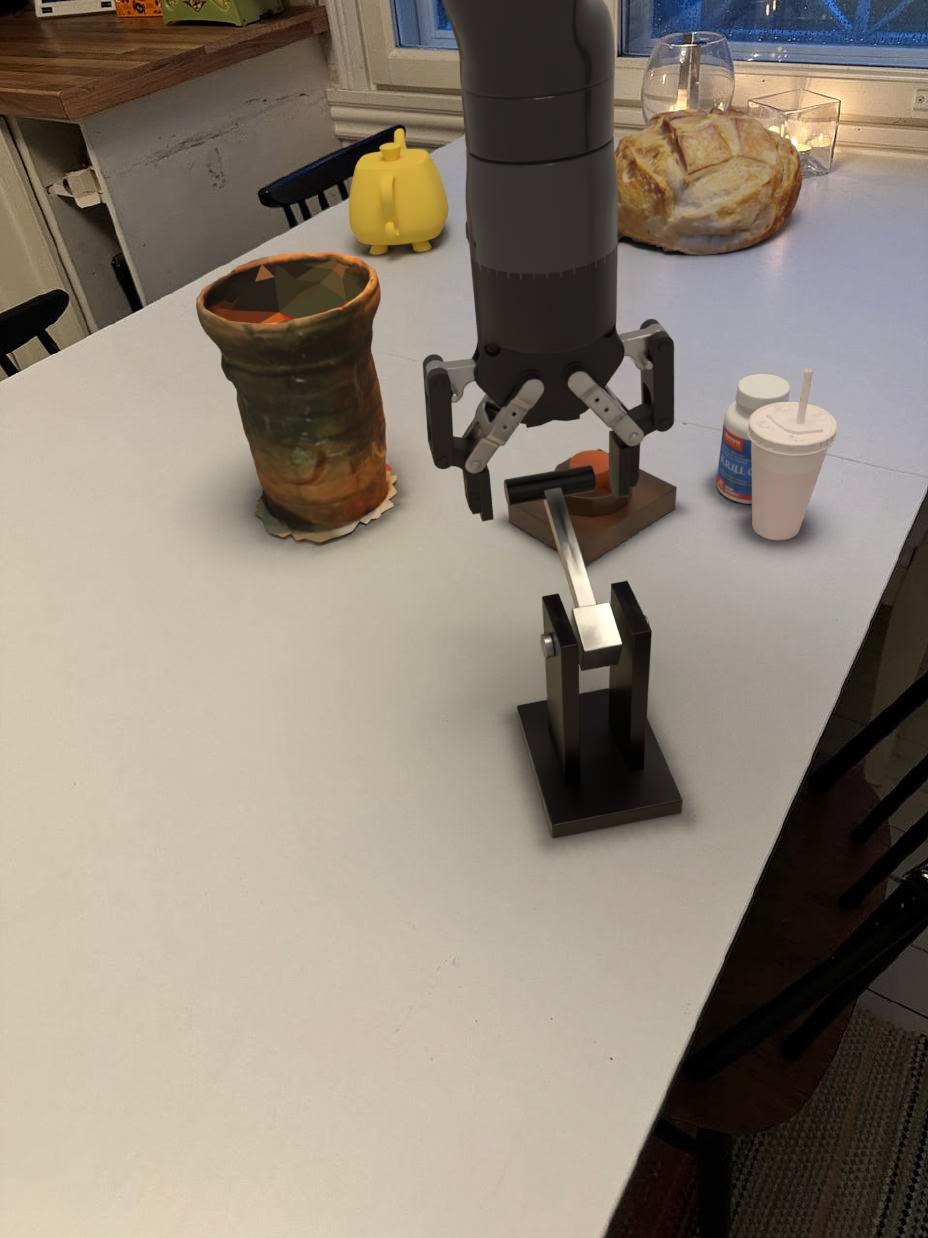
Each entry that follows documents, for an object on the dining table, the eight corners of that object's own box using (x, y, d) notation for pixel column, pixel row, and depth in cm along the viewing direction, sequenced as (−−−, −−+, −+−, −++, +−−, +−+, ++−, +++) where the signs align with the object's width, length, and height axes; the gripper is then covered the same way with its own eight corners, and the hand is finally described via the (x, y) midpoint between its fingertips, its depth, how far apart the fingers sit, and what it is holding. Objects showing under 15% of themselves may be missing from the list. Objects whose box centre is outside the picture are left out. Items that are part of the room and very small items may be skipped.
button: (591, 462, 78) (591, 444, 77) (622, 478, 76) (623, 460, 75) (560, 480, 77) (560, 462, 76) (592, 497, 75) (591, 478, 74)
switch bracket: (517, 716, 63) (505, 570, 54) (632, 695, 63) (638, 546, 55) (552, 838, 55) (545, 690, 47) (682, 812, 56) (698, 661, 47)
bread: (615, 199, 141) (608, 90, 131) (806, 187, 131) (814, 67, 121) (574, 266, 124) (562, 145, 114) (789, 257, 114) (797, 125, 104)
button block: (598, 469, 84) (599, 430, 81) (675, 508, 79) (678, 468, 76) (508, 521, 79) (505, 482, 77) (583, 567, 74) (583, 526, 71)
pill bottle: (705, 495, 80) (715, 392, 73) (730, 464, 83) (742, 363, 76) (767, 512, 77) (783, 407, 70) (791, 480, 80) (808, 376, 74)
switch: (503, 494, 59) (503, 470, 57) (587, 479, 59) (590, 455, 57) (552, 677, 52) (554, 657, 50) (647, 659, 52) (652, 638, 50)
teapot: (345, 267, 126) (328, 168, 118) (367, 216, 141) (353, 125, 133) (445, 261, 125) (434, 159, 116) (456, 210, 139) (448, 117, 131)
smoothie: (792, 560, 72) (822, 399, 63) (719, 532, 76) (737, 375, 66) (831, 520, 75) (865, 361, 66) (760, 495, 79) (782, 340, 70)
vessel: (440, 503, 82) (412, 282, 69) (295, 566, 77) (234, 341, 64) (366, 438, 92) (328, 233, 79) (232, 491, 87) (168, 281, 74)
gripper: (413, 288, 44) (449, 558, 54) (705, 241, 45) (683, 516, 55) (396, 234, 49) (432, 489, 60) (655, 194, 50) (644, 452, 61)
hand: (552, 501), depth 58 cm, fingers open, 8 cm apart
